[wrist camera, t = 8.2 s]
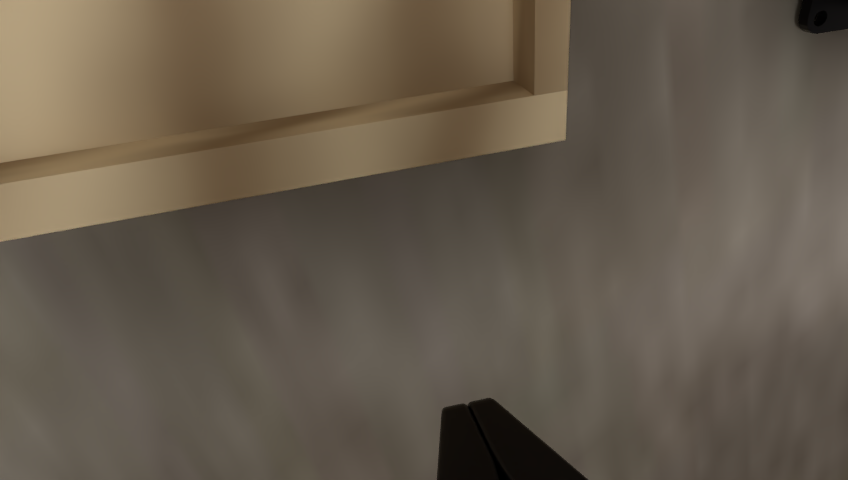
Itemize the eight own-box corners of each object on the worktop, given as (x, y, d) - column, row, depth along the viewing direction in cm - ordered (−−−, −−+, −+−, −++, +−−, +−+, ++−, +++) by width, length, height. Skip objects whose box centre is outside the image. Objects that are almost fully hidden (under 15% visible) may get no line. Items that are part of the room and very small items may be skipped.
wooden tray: (530, -225, 16) (579, -244, 14) (529, 111, 20) (565, 139, 18) (-275, -166, 13) (-393, -178, 11) (-64, 211, 18) (-113, 261, 15)
